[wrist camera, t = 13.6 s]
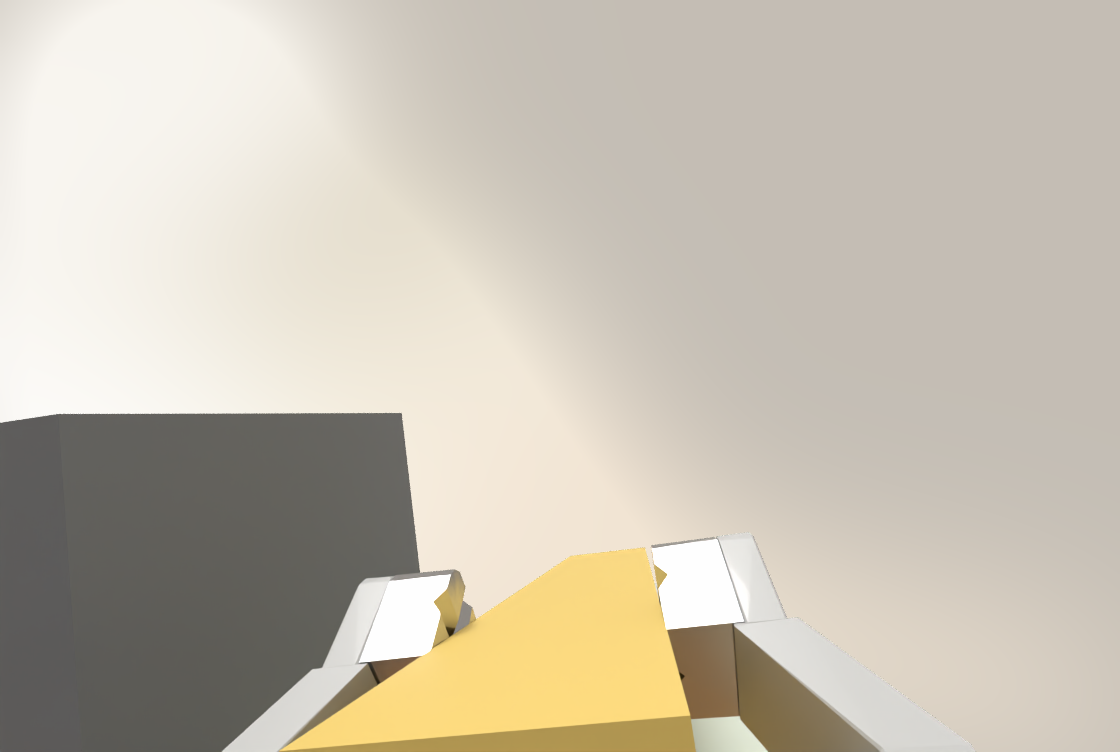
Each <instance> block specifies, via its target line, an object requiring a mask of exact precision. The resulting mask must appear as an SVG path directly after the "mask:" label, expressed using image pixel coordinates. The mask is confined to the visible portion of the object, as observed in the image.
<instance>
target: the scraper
mask: <svg viewBox="0 0 1120 752" xmlns="http://www.w3.org/2000/svg"><path fill="white" fill-rule="evenodd" d="M279 752H696V749H695V742H694V736H693V729H692V723H691V716H690V712H689V709H688V705H687V701H686V698H685V694H684V690H683V686H682V683H681V679H680V675H679V672H678V668H677V664H676V661H675V657H674V653H673V650H672V646H671V642H670V639H669V635H668V631H667V628H666V625H665V622H664V619H663V615H662V609H661V606H660V603H659V597H658V590H657V583H654V580H653V576H652V573H651V569H650V565H649V562H648V558H647V554H646V551H645V548H637V549H627V550H619V551H610V552H601V553H593V554H584V555H576V556H570V557H569V558H567V559H566V560H564V561H563V562H561V563H560V564H558V565H557V566H555V567H554V568H552V569H551V570H549V571H548V572H546V573H545V574H543V575H542V576H540V577H539V578H537V579H536V580H534V581H533V582H531V583H530V584H528V585H527V586H525V587H524V588H522V589H521V590H519V591H518V592H516V593H515V594H513V595H512V596H510V597H509V598H507V599H506V600H504V601H503V602H501V603H500V604H498V605H497V606H495V607H494V608H492V609H491V610H490V611H488V612H486V613H485V614H483V615H482V616H480V617H479V618H477V619H476V620H474V621H473V622H471V623H470V624H468V625H467V626H465V627H464V628H462V629H461V630H459V631H458V632H456V633H455V634H453V635H452V636H450V637H449V638H447V639H446V640H444V641H443V642H441V643H440V644H438V645H437V646H435V647H434V648H432V649H431V650H429V651H428V652H427V653H425V654H424V655H422V656H421V657H419V658H418V659H416V660H415V661H413V662H412V663H410V664H409V665H407V666H406V667H404V668H403V669H401V670H400V671H398V672H397V673H395V674H394V675H392V676H391V677H389V678H388V679H386V680H385V681H383V682H382V683H380V684H379V685H377V686H376V687H374V688H373V689H371V690H370V691H368V692H367V693H365V694H364V695H362V696H361V697H359V698H358V699H356V700H355V701H353V702H352V703H350V704H349V705H347V706H346V707H344V708H343V709H341V710H340V711H338V712H337V713H335V714H334V715H332V716H331V717H329V718H328V719H326V720H325V721H323V722H322V723H320V724H319V725H317V726H316V727H314V728H313V729H311V730H310V731H308V732H307V733H305V734H304V735H302V736H301V737H299V738H298V739H296V740H295V741H293V742H292V743H290V744H289V745H287V746H286V747H284V748H283V749H281V750H280V751H279Z"/></svg>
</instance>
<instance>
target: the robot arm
mask: <svg viewBox="0 0 1120 752" xmlns="http://www.w3.org/2000/svg"><path fill="white" fill-rule="evenodd" d="M651 547H652V555H653V563H654V569H655V575H656V581H657V590H658V597H659V603H660V606H661V609H662V615H663V619H664V622H665V625H666V628H667V631H668V635H669V639H670V642H671V646H672V650H673V653H674V657H675V661H676V664H677V668H678V672H679V675H680V679H681V683H682V686H683V690H684V694H685V698H686V701H687V705H688V709H689V712H690V716H691V719H703V718H719V717H734V716H740V720H741V721H742V722H743V723H744V724H745V726H746V727H747V728H748V729H749V730H750V731H751V732H752V734H753V735H754V736H755V737H756V738H757V739H758V740H759V742H760V743H761V744H762V745H763V746H764V747H765V749H766V750H767V751H768V752H976V751H975V749H974V748H973V746H972V745H971V744H970V743H969V742H967V741H966V740H965V739H963V738H962V737H961V736H959V735H958V734H956V733H955V732H954V731H952V730H951V729H950V728H948V727H947V726H945V725H944V724H943V723H941V722H940V721H939V720H937V719H936V718H935V717H933V716H932V715H931V714H929V713H928V712H926V711H925V710H924V709H922V708H921V707H920V706H918V705H917V704H916V703H914V702H913V701H911V700H910V699H909V698H907V697H906V696H905V695H903V694H902V693H901V692H899V691H898V690H897V689H895V688H894V687H892V686H891V685H890V684H888V683H887V682H885V681H884V680H883V679H882V678H880V677H879V676H877V675H876V674H875V673H873V672H872V671H871V670H869V669H867V667H865V666H864V665H862V664H861V663H860V662H858V661H857V660H855V659H854V658H853V657H852V656H850V655H849V654H847V653H846V652H845V651H843V650H842V649H841V648H839V647H838V646H837V645H835V644H834V643H832V642H831V641H830V640H828V639H827V638H826V637H824V636H823V635H822V634H820V633H819V632H817V631H816V630H815V629H813V628H812V627H811V626H809V625H808V624H807V623H805V622H804V621H802V620H801V619H800V618H798V617H796V618H787V616H786V614H785V612H784V609H783V607H782V604H781V602H780V599H779V597H778V595H777V592H776V590H775V587H774V585H773V582H772V580H771V578H770V575H769V573H768V570H767V568H766V566H765V563H764V561H763V558H762V556H761V554H760V551H759V548H758V546H757V544H756V541H755V539H754V536H753V535H751V534H750V533H749V532H746V533H739V534H731V535H724V536H717V537H716V538H714V537H712V538H704V539H697V540H689V541H682V542H674V543H666V544H658V545H652V546H651ZM464 591H465V585H464V582H463V580H462V577H461V574H460V572H459V571H457V570H445V571H433V572H423V573H413V574H402V575H395V576H390V577H378V578H367V579H365V580H364V581H363V582H362V583H360V584H359V586H358V587H357V590H356V592H355V594H354V596H353V599H352V601H351V603H350V605H349V608H348V610H347V612H346V615H345V617H344V619H343V621H342V624H341V626H340V628H339V630H338V633H337V635H336V637H335V639H334V642H333V644H332V646H331V649H330V651H329V653H328V655H327V658H326V660H325V662H324V664H323V667H322V668H318V669H312V670H311V671H310V672H309V673H308V674H307V675H306V676H304V677H303V678H302V679H301V680H300V681H299V682H298V683H297V684H296V685H295V686H293V687H292V688H291V689H290V690H289V691H288V692H287V693H286V694H285V695H283V696H282V697H281V698H280V699H279V700H278V701H277V702H276V703H275V704H274V705H272V706H271V707H270V708H269V709H268V710H267V711H266V712H265V713H264V714H263V715H261V716H260V717H259V718H258V719H257V720H256V721H255V722H254V723H253V724H252V725H250V726H249V727H248V728H247V729H246V730H245V731H244V732H243V733H242V734H240V735H239V736H238V737H237V738H236V739H235V740H234V741H233V742H232V743H231V744H229V745H228V746H227V747H226V748H225V749H224V750H223V751H222V752H279V751H280V750H281V749H283V748H284V747H286V746H287V745H289V744H290V743H292V742H293V741H295V740H296V739H298V738H299V737H301V736H302V735H304V734H305V733H307V732H308V731H310V730H311V729H313V728H314V727H316V726H317V725H319V724H320V723H322V722H323V721H325V720H326V719H328V718H329V717H331V716H332V715H334V714H335V713H337V712H338V711H340V710H341V709H343V708H344V707H346V706H347V705H349V704H350V703H352V702H353V701H355V700H356V699H358V698H359V697H361V696H362V695H364V694H365V693H367V692H368V691H370V690H371V689H373V688H374V687H376V686H377V685H379V684H380V683H382V682H383V681H385V680H386V679H388V678H389V677H391V676H392V675H394V674H395V673H397V672H398V671H400V670H401V669H403V668H404V667H406V666H407V665H409V664H410V663H412V662H413V661H415V660H416V659H418V658H419V657H421V656H422V655H424V654H425V653H427V652H428V651H429V650H431V649H432V648H434V647H435V646H437V645H438V644H440V643H441V642H443V641H444V640H446V639H447V638H449V637H450V636H452V635H453V634H455V633H456V632H458V631H459V630H461V629H462V628H464V627H465V626H467V625H468V624H470V623H471V622H473V621H474V620H476V618H475V615H474V611H473V609H472V607H471V606H469V605H468V604H466V603H465V602H464V601H463V596H464Z"/></svg>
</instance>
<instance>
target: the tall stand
mask: <svg viewBox="0 0 1120 752" xmlns="http://www.w3.org/2000/svg"><path fill="white" fill-rule="evenodd" d="M413 573H420V570H419V561H418V552H417V543H416V534H415V526H414V517H413V509H412V500H411V492H410V483H409V474H408V465H407V456H406V448H405V439H404V431H403V422H402V414H401V413H335V414H334V413H330V414H329V413H327V414H326V413H325V414H324V413H322V414H321V413H320V414H318V413H314V414H313V413H308V414H307V413H305V414H304V413H303V414H302V413H301V414H56V415H49V416H43V417H36V418H29V419H23V420H16V421H9V422H3V423H0V752H222V751H223V750H224V749H225V748H226V747H227V746H228V745H229V744H231V743H232V742H233V741H234V740H235V739H236V738H237V737H238V736H239V735H240V734H242V733H243V732H244V731H245V730H246V729H247V728H248V727H249V726H250V725H252V724H253V723H254V722H255V721H256V720H257V719H258V718H259V717H260V716H261V715H263V714H264V713H265V712H266V711H267V710H268V709H269V708H270V707H271V706H272V705H274V704H275V703H276V702H277V701H278V700H279V699H280V698H281V697H282V696H283V695H285V694H286V693H287V692H288V691H289V690H290V689H291V688H292V687H293V686H295V685H296V684H297V683H298V682H299V681H300V680H301V679H302V678H303V677H304V676H306V675H307V674H308V673H309V672H310V671H311V670H312V669H318V668H322V667H323V664H324V662H325V660H326V658H327V655H328V653H329V651H330V649H331V646H332V644H333V642H334V639H335V637H336V635H337V633H338V630H339V628H340V626H341V624H342V621H343V619H344V617H345V615H346V612H347V610H348V608H349V605H350V603H351V601H352V599H353V596H354V594H355V592H356V590H357V587H358V586H359V584H360V583H362V582H363V581H364V580H365V579H367V578H378V577H390V576H395V575H402V574H413Z"/></svg>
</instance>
